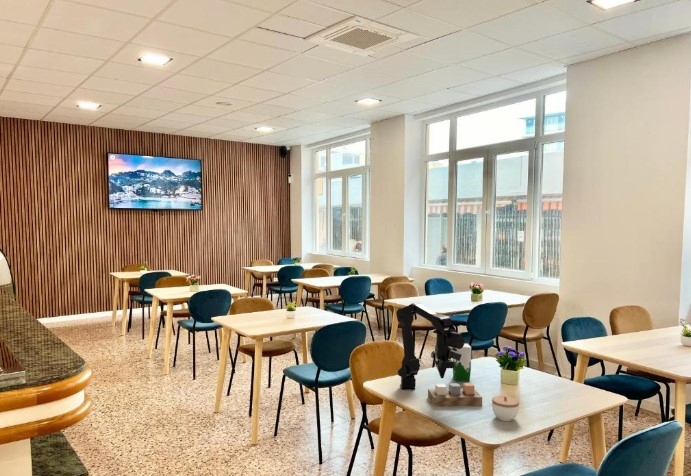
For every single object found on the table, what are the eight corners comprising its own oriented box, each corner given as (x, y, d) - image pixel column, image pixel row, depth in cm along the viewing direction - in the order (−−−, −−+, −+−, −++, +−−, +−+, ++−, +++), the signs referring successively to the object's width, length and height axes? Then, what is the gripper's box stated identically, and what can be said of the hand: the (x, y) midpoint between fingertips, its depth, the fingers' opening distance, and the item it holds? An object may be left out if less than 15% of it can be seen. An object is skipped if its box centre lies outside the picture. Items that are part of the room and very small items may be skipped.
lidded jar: (503, 425, 197) (504, 402, 197) (486, 415, 207) (486, 393, 207) (524, 421, 201) (524, 399, 201) (505, 411, 211) (506, 390, 211)
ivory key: (437, 395, 219) (437, 387, 219) (435, 392, 223) (435, 384, 223) (446, 395, 220) (446, 386, 219) (443, 392, 224) (443, 383, 223)
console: (433, 406, 216) (433, 397, 216) (427, 397, 227) (428, 389, 227) (482, 406, 217) (482, 397, 217) (473, 397, 228) (474, 388, 228)
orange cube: (465, 394, 220) (465, 385, 220) (462, 391, 224) (463, 382, 224) (474, 394, 220) (474, 385, 220) (471, 391, 224) (471, 382, 224)
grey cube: (451, 395, 220) (451, 386, 220) (449, 391, 224) (449, 383, 224) (460, 394, 220) (460, 386, 220) (457, 391, 224) (457, 383, 224)
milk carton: (451, 376, 258) (451, 339, 257) (468, 376, 258) (469, 339, 257) (454, 381, 249) (455, 343, 249) (472, 382, 249) (473, 343, 249)
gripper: (466, 349, 212) (465, 384, 212) (454, 339, 230) (453, 371, 231) (441, 349, 211) (440, 385, 212) (431, 339, 230) (430, 371, 230)
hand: (442, 378), depth 221 cm, fingers closed
